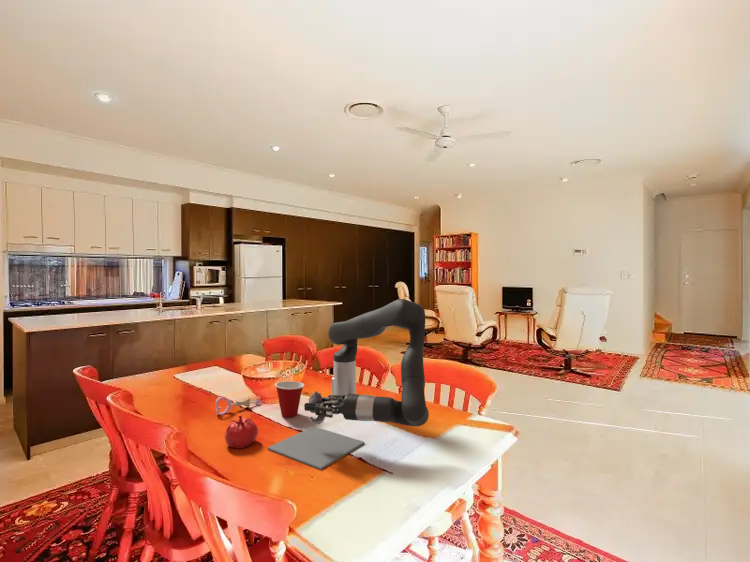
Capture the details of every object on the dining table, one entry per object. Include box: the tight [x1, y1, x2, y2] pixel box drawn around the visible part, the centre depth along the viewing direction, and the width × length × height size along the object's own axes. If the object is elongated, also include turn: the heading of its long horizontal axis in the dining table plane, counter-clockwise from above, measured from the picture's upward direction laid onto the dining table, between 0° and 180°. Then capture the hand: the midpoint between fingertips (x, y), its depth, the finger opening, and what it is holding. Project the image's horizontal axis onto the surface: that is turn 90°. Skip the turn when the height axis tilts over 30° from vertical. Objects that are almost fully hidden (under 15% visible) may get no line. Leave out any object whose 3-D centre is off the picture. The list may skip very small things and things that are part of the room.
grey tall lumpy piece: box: [308, 390, 326, 425], centre depth 123 cm, size 5×5×10 cm
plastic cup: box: [274, 380, 305, 419], centre depth 150 cm, size 11×11×12 cm
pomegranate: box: [224, 414, 259, 449], centre depth 125 cm, size 10×10×9 cm
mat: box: [267, 425, 365, 471], centre depth 123 cm, size 22×20×1 cm
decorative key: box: [214, 395, 264, 416], centre depth 156 cm, size 7×1×20 cm
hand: (309, 403), depth 123 cm, fingers closed on grey tall lumpy piece, 5 cm apart
